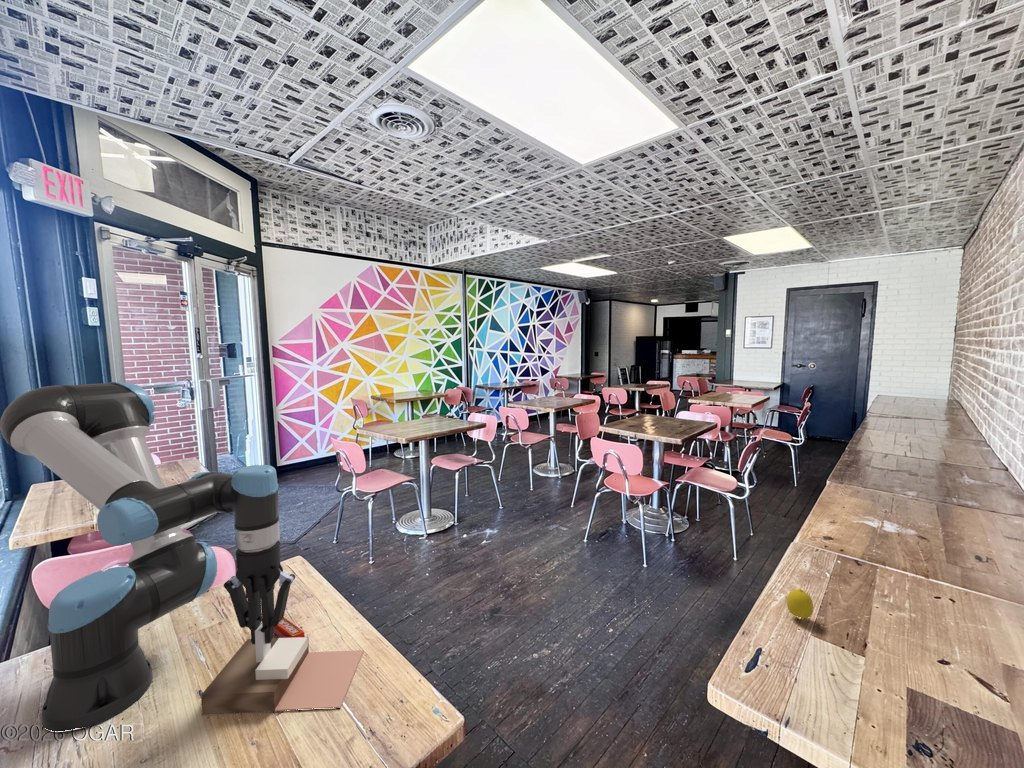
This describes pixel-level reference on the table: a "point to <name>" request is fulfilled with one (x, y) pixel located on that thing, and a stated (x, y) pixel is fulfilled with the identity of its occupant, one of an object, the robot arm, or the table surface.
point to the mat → (321, 680)
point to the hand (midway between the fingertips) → (263, 657)
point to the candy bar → (287, 629)
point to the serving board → (245, 685)
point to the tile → (282, 658)
